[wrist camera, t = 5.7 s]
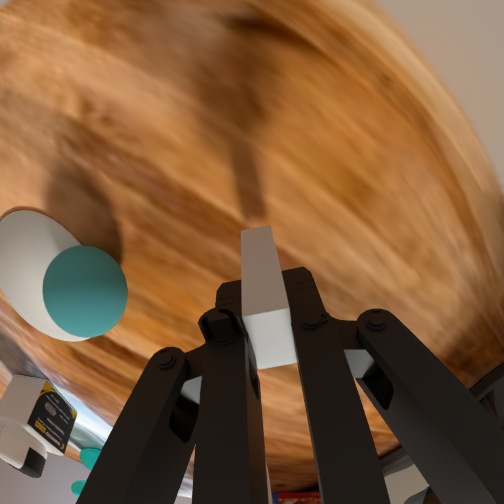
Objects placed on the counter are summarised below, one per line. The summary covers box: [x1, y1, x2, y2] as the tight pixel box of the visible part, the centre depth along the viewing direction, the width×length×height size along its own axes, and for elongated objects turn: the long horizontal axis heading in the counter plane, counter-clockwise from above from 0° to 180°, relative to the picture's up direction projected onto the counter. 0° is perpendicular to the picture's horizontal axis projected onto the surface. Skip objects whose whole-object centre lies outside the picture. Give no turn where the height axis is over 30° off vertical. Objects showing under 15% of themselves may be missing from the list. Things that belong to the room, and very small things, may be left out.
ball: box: [42, 245, 128, 338], centre depth 15 cm, size 6×6×6 cm
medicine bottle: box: [0, 374, 77, 478], centre depth 20 cm, size 7×7×12 cm
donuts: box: [71, 448, 101, 497], centre depth 31 cm, size 10×10×10 cm
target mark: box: [0, 210, 90, 341], centre depth 18 cm, size 12×12×1 cm
